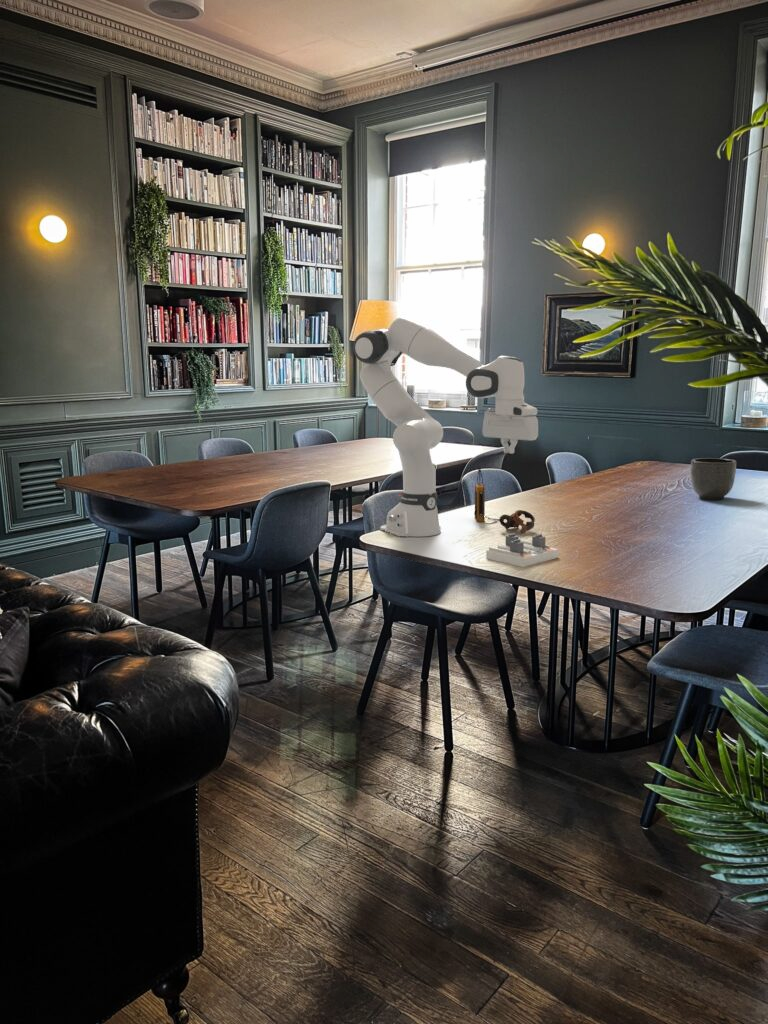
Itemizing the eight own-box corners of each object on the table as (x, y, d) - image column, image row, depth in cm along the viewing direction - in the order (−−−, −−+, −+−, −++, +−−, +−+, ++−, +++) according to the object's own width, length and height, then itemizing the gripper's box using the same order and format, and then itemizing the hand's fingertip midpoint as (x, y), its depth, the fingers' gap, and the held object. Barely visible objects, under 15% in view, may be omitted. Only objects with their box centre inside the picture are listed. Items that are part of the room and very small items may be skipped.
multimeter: (506, 524, 276) (506, 469, 272) (478, 524, 276) (478, 469, 272) (499, 516, 291) (500, 463, 287) (473, 516, 290) (473, 464, 287)
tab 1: (509, 552, 222) (510, 539, 222) (515, 551, 224) (515, 538, 223) (517, 554, 220) (518, 541, 219) (523, 553, 222) (523, 540, 221)
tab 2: (532, 547, 229) (532, 534, 228) (537, 546, 230) (537, 533, 230) (540, 548, 226) (540, 536, 226) (545, 547, 228) (545, 534, 227)
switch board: (486, 558, 228) (486, 547, 227) (521, 549, 238) (521, 539, 237) (523, 567, 217) (523, 555, 216) (558, 557, 227) (558, 546, 226)
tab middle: (505, 546, 230) (505, 533, 229) (510, 545, 232) (510, 532, 231) (513, 548, 228) (513, 535, 227) (518, 547, 229) (518, 534, 229)
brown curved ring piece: (524, 528, 271) (533, 510, 266) (530, 545, 263) (540, 527, 258) (493, 521, 268) (502, 503, 263) (498, 538, 260) (507, 520, 256)
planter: (683, 495, 329) (685, 458, 326) (724, 494, 328) (726, 457, 325) (697, 502, 312) (700, 463, 309) (740, 501, 311) (743, 462, 308)
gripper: (478, 408, 245) (477, 451, 247) (528, 410, 229) (527, 456, 232) (491, 407, 249) (491, 449, 251) (541, 409, 233) (540, 454, 236)
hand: (509, 453), depth 241 cm, fingers closed
